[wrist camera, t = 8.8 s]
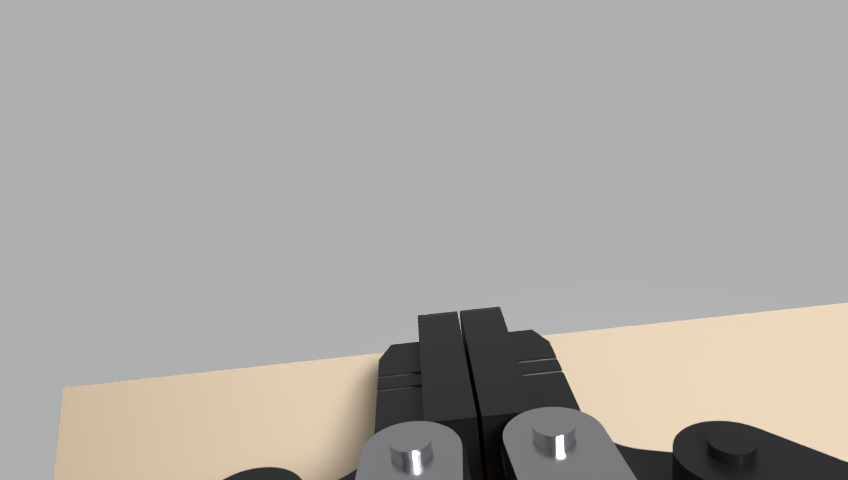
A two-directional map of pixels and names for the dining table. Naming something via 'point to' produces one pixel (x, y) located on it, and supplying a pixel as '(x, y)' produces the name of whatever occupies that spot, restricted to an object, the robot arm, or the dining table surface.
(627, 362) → the flap
